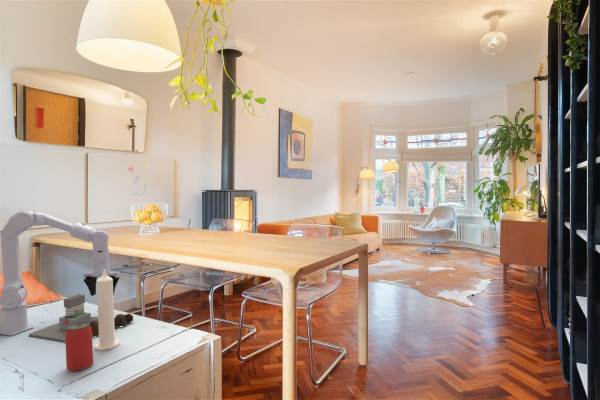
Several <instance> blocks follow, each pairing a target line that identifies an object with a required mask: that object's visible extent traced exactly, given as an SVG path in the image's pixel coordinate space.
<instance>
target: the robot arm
mask: <svg viewBox="0 0 600 400" xmlns="http://www.w3.org/2000/svg"><path fill="white" fill-rule="evenodd" d="M38 226H48V227H52V228H56V229H57V230H61V231H62V230H63V231H65V232H68V233H69V234H70V236H71V237H72V238H75V239H78V240H82V241H83V242H87V243H90V242H91V244H92V271H83V272H82V278H83V283H85V285H86V287H87V289H88V291H89V294H90V297H93V296H95V295H97V280H98V278H100V277H101V276H102V274H103V270H104V269H105V270H106V274H107V275H108V276H109V277H111V278H112V279H113V296H114V295H115V291H116V287H117V284H118V282H119V280H120V278H121V271H116V270H110V249H109V234H108V232H106V231H105V230H103V229H99V228H98V227H92V226H89V225H87V223H86V222H82V221H81V223H80V222H76V223H71V222H68V221H65V220H63V219H60V218H58V217H55V216H53V215H50V214H47V213H45V212H44V213H43V212H39V211H35V210H31V209H27V210H26V209H25V210H22V211H21V210H20V211H18V212H15V213H14V214H13V215H11V216H10V217H9V219H8V221H7V222H6V223H5V225H4V227H3V228H2V230H1V232H0V245H1V246H0V247H1V248H0V249H1V260H2V273H3V284H2V288H1V295H0V306H1V307H0V335H5V336H11V337H13V336H14V335H17V334H20V333H22V332H26V331H28V330H31V329H33V328H34V327H35V326H33V325H28V306H27V304H28V303H27V301H26V298H27V297H28V290H27V288H26V287H25V285H24V283H25V282H24V280H23V278H22V271H21V270H22V269H21V267H22V266H21V257H20V243H19V236H20V235H22V234H23V233H24V232H25V231H27V230H28V229H29V228H32V227H38Z"/></svg>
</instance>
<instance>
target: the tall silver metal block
mask: <svg viewBox="0 0 600 400" xmlns="http://www.w3.org/2000/svg"><path fill="white" fill-rule="evenodd" d="M85 304H86V296H85V294H80V293H79V294H76V295H72V296H69V297H66V298H63V308H65V310H64V312H65V315H64V316H66V317H67V316H68V317H70V318H76V317H79V316H81V315H84V314H85V312H86V311H85Z"/></svg>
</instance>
